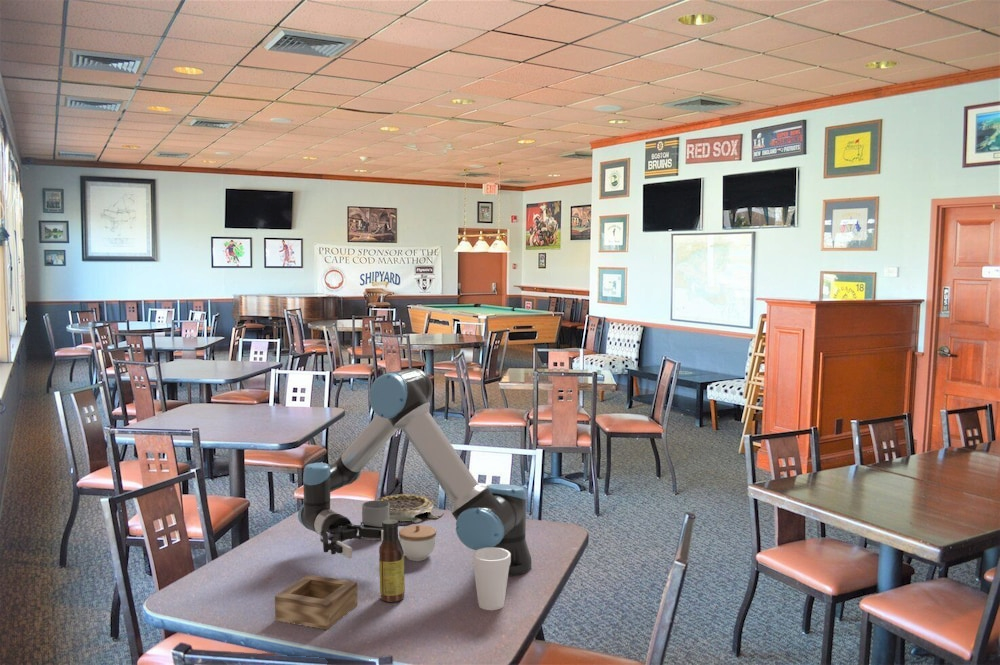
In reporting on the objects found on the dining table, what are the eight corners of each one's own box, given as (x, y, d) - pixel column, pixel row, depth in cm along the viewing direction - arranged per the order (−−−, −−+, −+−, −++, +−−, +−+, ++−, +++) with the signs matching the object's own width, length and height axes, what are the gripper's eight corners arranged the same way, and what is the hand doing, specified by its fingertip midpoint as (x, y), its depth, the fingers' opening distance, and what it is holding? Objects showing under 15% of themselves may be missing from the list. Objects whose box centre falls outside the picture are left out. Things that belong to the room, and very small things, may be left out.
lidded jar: (413, 566, 218) (412, 534, 217) (391, 556, 226) (391, 524, 225) (443, 557, 225) (443, 526, 224) (421, 547, 233) (421, 517, 232)
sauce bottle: (409, 598, 197) (409, 521, 196) (390, 605, 193) (390, 527, 191) (393, 590, 202) (393, 515, 200) (374, 598, 197) (373, 521, 196)
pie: (346, 520, 259) (346, 505, 259) (387, 499, 285) (387, 485, 284) (421, 531, 249) (421, 516, 249) (457, 508, 274) (457, 494, 274)
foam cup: (496, 616, 187) (497, 563, 186) (465, 607, 192) (465, 556, 191) (517, 602, 195) (517, 551, 194) (486, 593, 200) (486, 544, 199)
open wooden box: (357, 605, 193) (357, 582, 192) (326, 630, 179) (326, 605, 179) (308, 597, 197) (308, 574, 197) (275, 620, 184) (274, 596, 184)
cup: (383, 541, 239) (383, 509, 238) (358, 539, 240) (358, 507, 239) (392, 532, 247) (392, 501, 246) (368, 530, 248) (368, 499, 248)
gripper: (371, 530, 227) (413, 550, 211) (292, 549, 211) (330, 573, 195) (371, 504, 226) (413, 523, 210) (292, 522, 210) (330, 543, 194)
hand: (373, 547), depth 203 cm, fingers open, 13 cm apart
